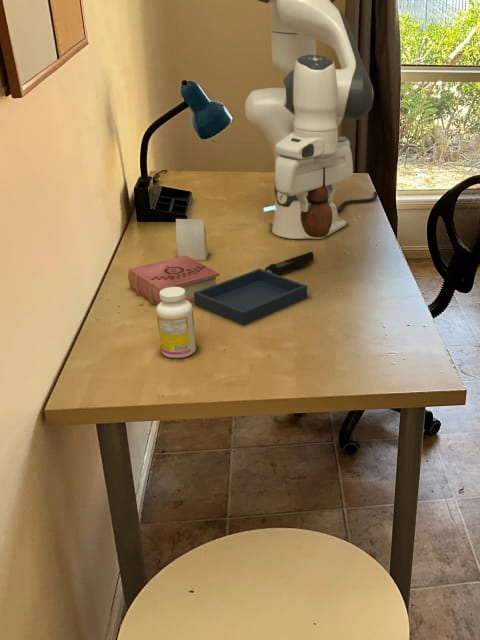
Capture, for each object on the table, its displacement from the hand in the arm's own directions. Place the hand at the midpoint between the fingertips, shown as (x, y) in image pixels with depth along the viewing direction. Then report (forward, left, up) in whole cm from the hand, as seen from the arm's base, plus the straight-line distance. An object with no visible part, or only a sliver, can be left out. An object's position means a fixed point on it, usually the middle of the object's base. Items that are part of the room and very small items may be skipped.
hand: (316, 207), depth 158 cm
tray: (+8, -12, -23) cm, 27 cm away
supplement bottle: (+34, -5, -23) cm, 41 cm away
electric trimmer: (-11, -20, -23) cm, 32 cm away
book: (+16, -29, -23) cm, 41 cm away
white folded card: (-1, -43, -23) cm, 49 cm away
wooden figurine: (0, 0, -6) cm, 6 cm away
